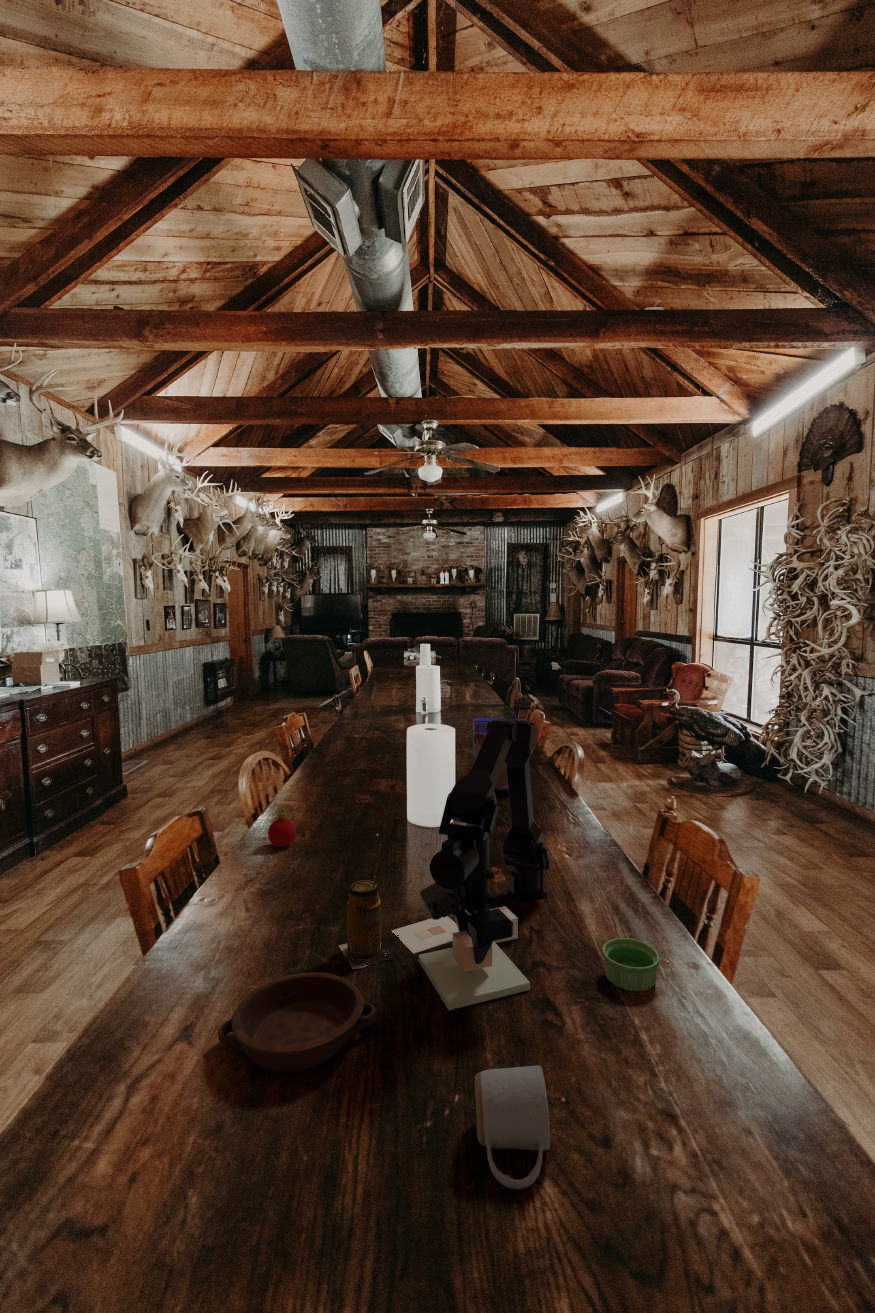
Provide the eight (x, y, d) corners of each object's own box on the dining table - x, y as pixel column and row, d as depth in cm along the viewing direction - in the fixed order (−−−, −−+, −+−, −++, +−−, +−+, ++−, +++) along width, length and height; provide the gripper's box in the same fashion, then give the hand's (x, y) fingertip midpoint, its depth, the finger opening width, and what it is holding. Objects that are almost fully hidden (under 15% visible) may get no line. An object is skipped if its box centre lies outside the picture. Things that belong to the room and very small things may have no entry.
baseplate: (491, 945, 111) (491, 939, 111) (530, 989, 98) (530, 982, 97) (418, 961, 106) (418, 955, 106) (448, 1010, 93) (448, 1003, 93)
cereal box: (473, 790, 208) (472, 720, 206) (474, 786, 212) (474, 717, 211) (524, 792, 205) (524, 721, 203) (525, 788, 209) (525, 718, 208)
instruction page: (445, 915, 122) (445, 914, 122) (470, 935, 114) (470, 934, 114) (390, 931, 116) (390, 930, 116) (413, 954, 108) (413, 953, 108)
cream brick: (505, 926, 118) (505, 906, 117) (517, 939, 113) (517, 918, 113) (481, 931, 116) (481, 911, 116) (493, 944, 111) (493, 923, 111)
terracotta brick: (479, 950, 105) (479, 927, 104) (492, 966, 100) (492, 942, 100) (452, 956, 103) (452, 933, 103) (464, 972, 98) (463, 948, 98)
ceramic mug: (473, 1111, 74) (473, 1051, 73) (541, 1110, 74) (541, 1050, 73) (478, 1195, 63) (478, 1127, 63) (557, 1195, 63) (558, 1126, 63)
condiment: (376, 937, 114) (375, 874, 113) (393, 960, 106) (392, 893, 105) (338, 947, 111) (337, 882, 110) (353, 971, 103) (351, 902, 102)
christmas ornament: (292, 851, 155) (291, 813, 155) (264, 851, 155) (263, 813, 155) (299, 841, 162) (298, 804, 162) (272, 841, 163) (271, 804, 162)
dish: (385, 1071, 81) (384, 1035, 80) (208, 1102, 76) (207, 1064, 76) (370, 992, 98) (369, 962, 97) (225, 1013, 93) (224, 981, 93)
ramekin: (630, 1001, 95) (630, 974, 94) (590, 971, 103) (590, 946, 102) (671, 984, 99) (671, 958, 98) (629, 957, 107) (630, 932, 106)
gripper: (407, 850, 106) (408, 936, 107) (446, 896, 89) (447, 999, 90) (466, 841, 110) (467, 924, 111) (515, 883, 93) (515, 982, 94)
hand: (472, 954), depth 101 cm, fingers closed on terracotta brick, 5 cm apart
